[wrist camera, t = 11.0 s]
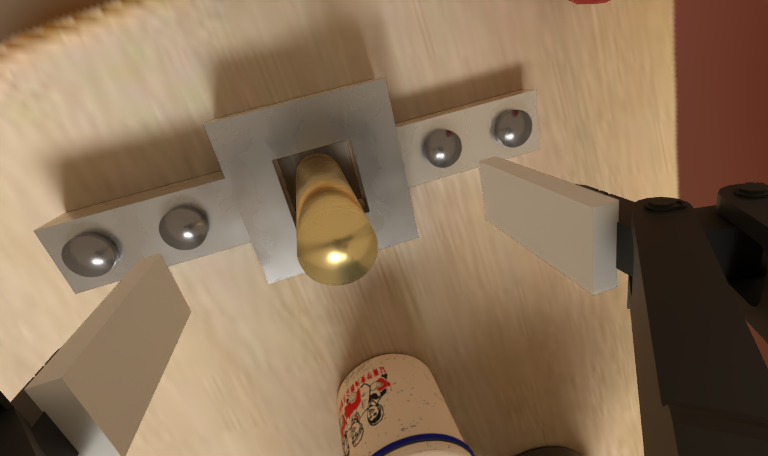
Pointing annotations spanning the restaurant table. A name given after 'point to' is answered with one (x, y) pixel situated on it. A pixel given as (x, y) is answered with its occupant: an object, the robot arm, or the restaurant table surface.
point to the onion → (589, 1)
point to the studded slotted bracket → (267, 186)
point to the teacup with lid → (396, 411)
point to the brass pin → (331, 224)
